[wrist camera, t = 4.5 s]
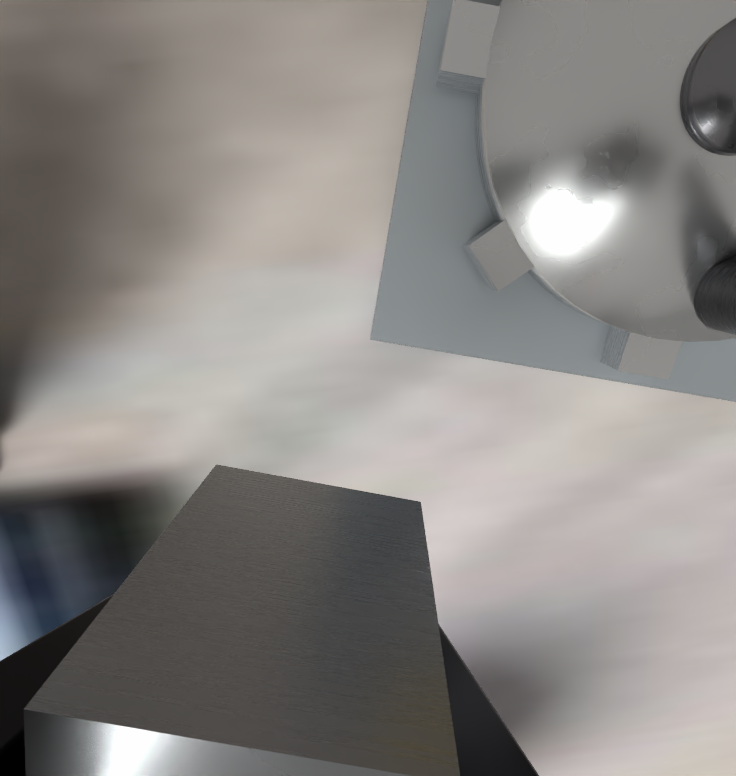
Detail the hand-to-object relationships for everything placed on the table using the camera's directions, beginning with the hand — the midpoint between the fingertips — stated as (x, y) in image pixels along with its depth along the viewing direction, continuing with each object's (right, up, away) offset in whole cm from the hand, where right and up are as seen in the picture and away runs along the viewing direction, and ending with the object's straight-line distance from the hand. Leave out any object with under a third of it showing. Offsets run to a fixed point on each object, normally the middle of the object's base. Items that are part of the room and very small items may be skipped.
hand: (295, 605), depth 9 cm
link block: (0, 0, +1) cm, 1 cm away
